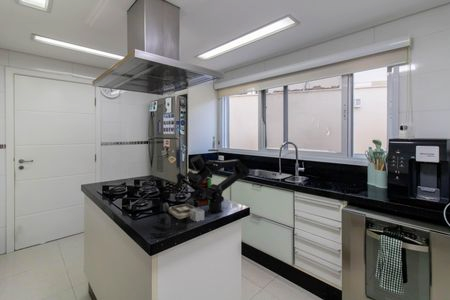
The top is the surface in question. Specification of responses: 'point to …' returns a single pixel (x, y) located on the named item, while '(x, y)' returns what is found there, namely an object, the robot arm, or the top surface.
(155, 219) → the top surface
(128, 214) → the top surface
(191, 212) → the block
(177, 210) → the chassis
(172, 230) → the top surface
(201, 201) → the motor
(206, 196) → the robot arm
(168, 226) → the top surface
